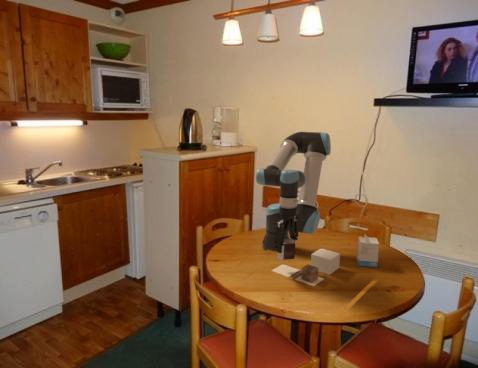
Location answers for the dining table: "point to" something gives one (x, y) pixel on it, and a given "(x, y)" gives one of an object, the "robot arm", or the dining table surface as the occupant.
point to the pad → (285, 270)
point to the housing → (325, 261)
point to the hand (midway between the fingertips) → (286, 256)
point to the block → (309, 273)
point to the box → (289, 249)
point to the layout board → (307, 281)
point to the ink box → (367, 251)
